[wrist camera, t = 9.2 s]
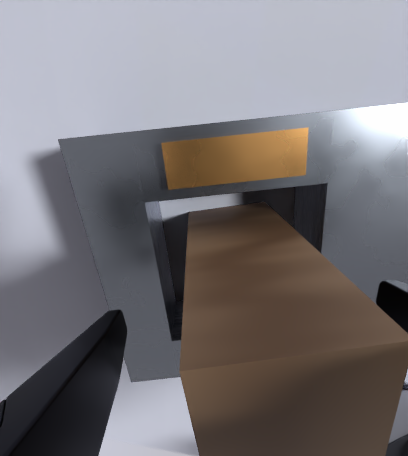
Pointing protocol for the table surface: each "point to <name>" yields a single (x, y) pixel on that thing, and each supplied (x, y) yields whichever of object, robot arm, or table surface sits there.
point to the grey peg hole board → (234, 183)
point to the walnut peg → (282, 344)
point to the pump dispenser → (399, 429)
